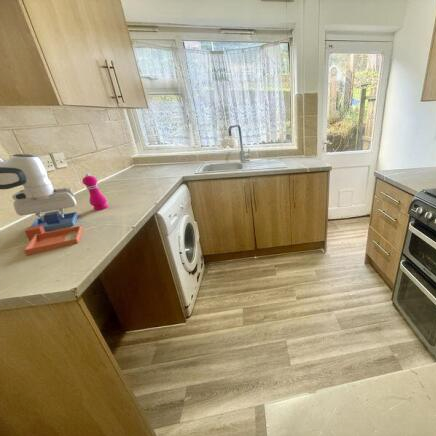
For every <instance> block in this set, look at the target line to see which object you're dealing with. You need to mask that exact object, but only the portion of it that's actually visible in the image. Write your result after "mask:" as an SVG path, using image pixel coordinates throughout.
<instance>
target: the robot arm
mask: <svg viewBox="0 0 436 436" xmlns="http://www.w3.org/2000/svg"><path fill="white" fill-rule="evenodd" d="M19 186H23V188H24V189H22V190H19V191H17V192H15V193H13V194H12V196H11V198H12V199H13V200H14V201H13V208H14V210H15V213H16V214H17V216H22V217H23V216H27V215H33V214H35V216H36V217H38V218H41V219H42V221H46V220H45V218H44V215H43V214H42V213H47V212H53V211H59V212H60V214H59V215H58V216H59V218H64V215H63V214H64V212H65V209H69V208H74V207H76V206H77V203H78V202H77V200H76V199H75V197H74V192H73V189H71V188H68V187H62V188H54V186H53V183H52V181H51V180H50V179H49V177H48V172H47V170H46V168H45V165H44V164H43V162H42V161H41V158H39V157H38V156H36V155H34V154H28V153H27V154H26V153H19V154H17V153H16V154H12V155H11V156H10V157H9V158H7V159H6V160H5V159H3V158H2V157H0V190H9V189H14V188H17V187H19Z"/></svg>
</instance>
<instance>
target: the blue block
mask: <svg viewBox="0 0 436 436" xmlns="http://www.w3.org/2000/svg"><path fill="white" fill-rule="evenodd" d="M59 214H61V212H60V211H59V210H53V211H47V212H44V215H43V216H44V218H45V220H46V222H47V224H48V225H49V224H55V223H60V222H61V220H62V218H59V216H58V215H59Z"/></svg>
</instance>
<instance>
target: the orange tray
mask: <svg viewBox="0 0 436 436" xmlns="http://www.w3.org/2000/svg"><path fill="white" fill-rule="evenodd" d="M74 232H76V234H75V237H74V238H72V239H67V237H68V235H69V234H70V233H74ZM82 232H83V227H82V225H76V226H70V227H66V228H61V229H57V230H52V231H48V232H46V233H41V234H36V235H34V237H33V238H32V239H31V240H29V242H28V243H27V245H26V246H25V248H24V249H23V252H24V254H25V256H26V257H28V256H32V255H36V254H39V253H44V252H48V251H52V250H56V249H60V248H65V247H67V246H68V247H69V246H71V245H75V244H78V243H79V241H80V239H81V236H82ZM66 239H67V240H66Z"/></svg>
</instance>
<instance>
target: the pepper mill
mask: <svg viewBox="0 0 436 436" xmlns="http://www.w3.org/2000/svg"><path fill="white" fill-rule="evenodd" d="M84 175H85V176H84V177H83V178H82V184H83V185H84V186H85V188H86V190H88V192H89V204H90V205H91V206H92V208H93V211H96V210H97V211H103V210H105V209H108V208H109V206H108V204H107V201H108V200H107V198H106V197H105V196H104V195H103V194H102V193H101V191H100V190H99V185H98V179H97V178H96V177H95V176H93V175H91V174H90V173H89V172H86V173H85V174H84Z"/></svg>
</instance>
